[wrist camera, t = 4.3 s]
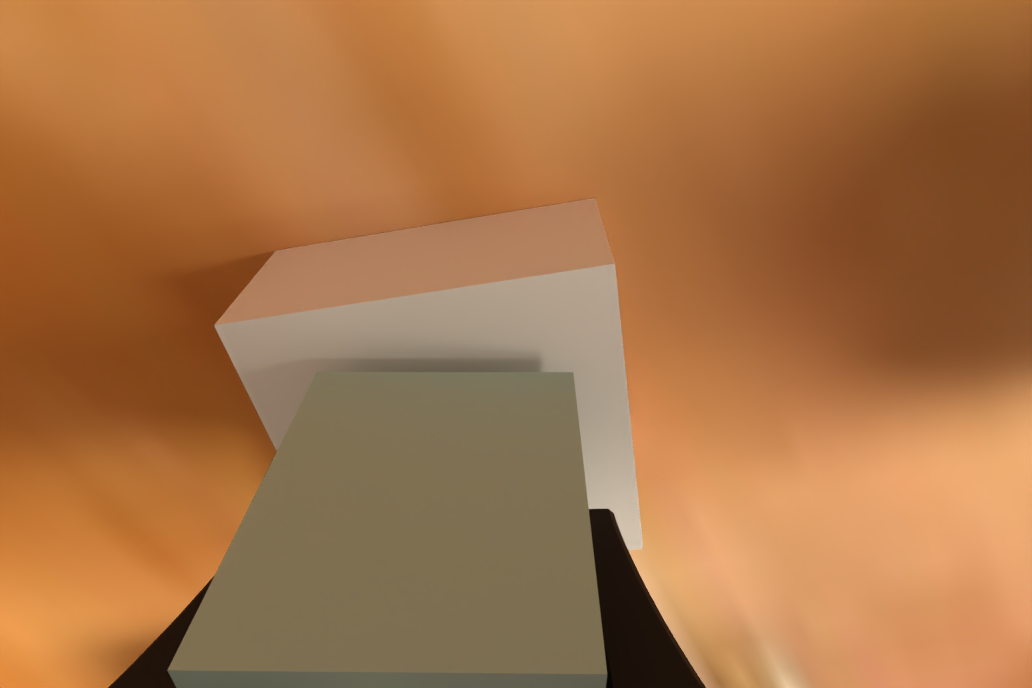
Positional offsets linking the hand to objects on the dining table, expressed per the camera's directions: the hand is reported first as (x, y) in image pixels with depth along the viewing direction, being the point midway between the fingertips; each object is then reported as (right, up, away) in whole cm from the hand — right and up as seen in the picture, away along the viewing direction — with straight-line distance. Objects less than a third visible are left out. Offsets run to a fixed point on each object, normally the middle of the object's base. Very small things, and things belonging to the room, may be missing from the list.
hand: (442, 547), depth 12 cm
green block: (0, +1, +2) cm, 2 cm away
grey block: (0, +4, +6) cm, 7 cm away
